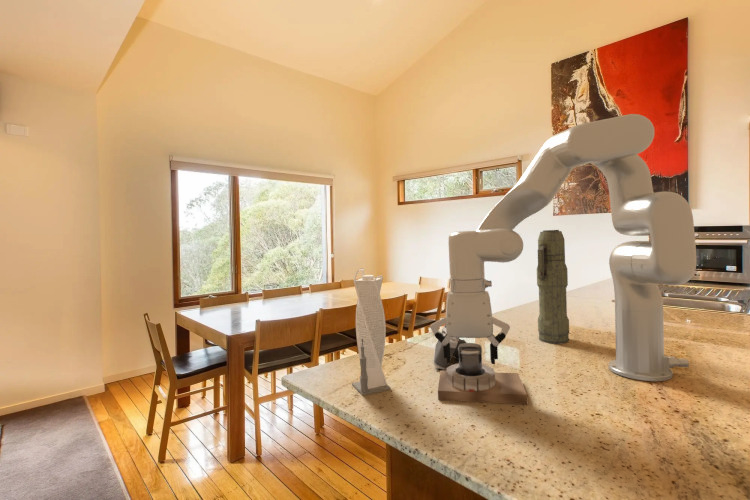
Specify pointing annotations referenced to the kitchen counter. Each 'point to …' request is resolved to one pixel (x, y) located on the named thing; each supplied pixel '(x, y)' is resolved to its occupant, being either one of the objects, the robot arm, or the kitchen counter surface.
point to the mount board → (492, 395)
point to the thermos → (552, 288)
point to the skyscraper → (370, 334)
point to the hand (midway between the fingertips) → (470, 361)
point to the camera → (439, 351)
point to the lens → (470, 359)
